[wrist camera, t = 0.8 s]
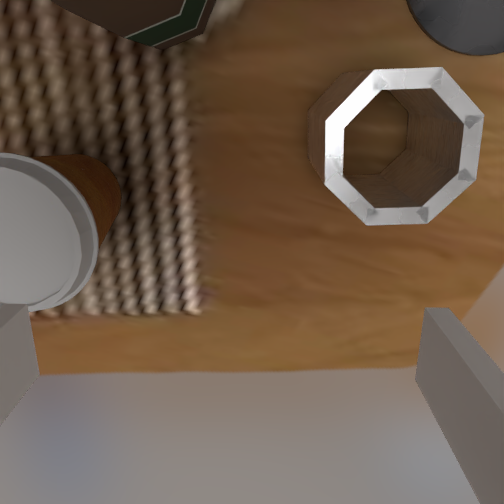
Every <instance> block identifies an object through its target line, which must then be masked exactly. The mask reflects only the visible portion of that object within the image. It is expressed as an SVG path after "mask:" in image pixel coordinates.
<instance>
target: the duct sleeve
mask: <svg viewBox="0 0 504 504" xmlns="http://www.w3.org/2000/svg"><path fill="white" fill-rule="evenodd" d="M381 90H389V91H390V93H391V94H392V95H393V96H394V97H395V98H396V99H397V100H398V101H399V102H400V103H401V104H402V106H403V107H404V108H405V109H406V110H407V111H408V112H409V114H408V127H407V141H406V149H405V150H404V151H403V152H402V153H401V154H400V155H399V156H398V157H397V158H396V159H395V160H394V161H393V162H392V163H391V164H390V165H388V166H387V167H386V168H385V169H384V170H383V171H382V172H381V173H380V174H370V175H344V174H343V151H344V128H345V127H346V126H347V125H348V124H349V123H350V122H351V120H352V119H353V118H354V117H355V116H356V115H357V114H358V113H359V112H360V111H361V110H362V109H363V108H364V107H365V106H366V105H367V104H368V103H369V102H370V101H371V100H372V99H373V98H374V97H375V96H376V95H377V94H378V93H379V92H380V91H381ZM483 121H484V114H483V113H482V112H481V111H480V110H479V108H478V107H477V106H476V105H475V104H474V103H473V102H472V100H471V99H470V98H469V97H468V96H467V95H466V94H465V92H464V91H463V90H462V89H461V88H460V87H459V86H458V84H457V83H456V82H455V81H454V80H453V79H452V78H451V77H450V75H449V74H448V73H447V72H446V71H445V70H444V69H443V67H432V68H407V69H381V70H366V71H356V72H346V73H342V74H341V75H340V76H339V77H338V78H337V79H336V80H335V81H334V83H333V84H332V85H331V86H330V87H329V88H328V89H327V90H326V91H325V92H324V93H323V94H322V95H321V96H320V98H319V99H318V100H317V101H316V102H315V103H314V104H313V105H312V106H311V107H310V108H309V109H308V159H309V161H310V162H311V164H312V165H313V167H314V169H315V170H316V172H317V173H318V175H319V177H320V178H321V180H322V182H323V183H324V185H325V186H326V187H327V188H328V189H329V190H331V191H332V192H333V193H334V194H335V195H336V196H337V197H338V198H339V199H340V200H341V201H342V202H343V203H344V204H345V205H346V206H347V207H348V208H349V209H350V210H351V211H352V212H353V213H354V214H355V215H356V216H357V217H358V218H359V219H361V220H362V221H363V222H364V223H365V224H366V225H397V224H427V223H428V222H430V221H431V220H432V219H433V218H434V217H435V216H436V215H437V214H438V213H440V212H441V211H442V210H443V209H444V208H445V207H446V206H447V205H449V204H450V203H451V202H452V201H453V200H454V199H455V198H456V197H457V196H459V195H460V194H461V193H462V192H463V191H464V190H465V189H466V188H467V187H469V186H470V185H471V184H472V183H473V182H474V181H475V180H476V175H477V168H478V160H479V152H480V144H481V136H482V129H483Z"/></svg>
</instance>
